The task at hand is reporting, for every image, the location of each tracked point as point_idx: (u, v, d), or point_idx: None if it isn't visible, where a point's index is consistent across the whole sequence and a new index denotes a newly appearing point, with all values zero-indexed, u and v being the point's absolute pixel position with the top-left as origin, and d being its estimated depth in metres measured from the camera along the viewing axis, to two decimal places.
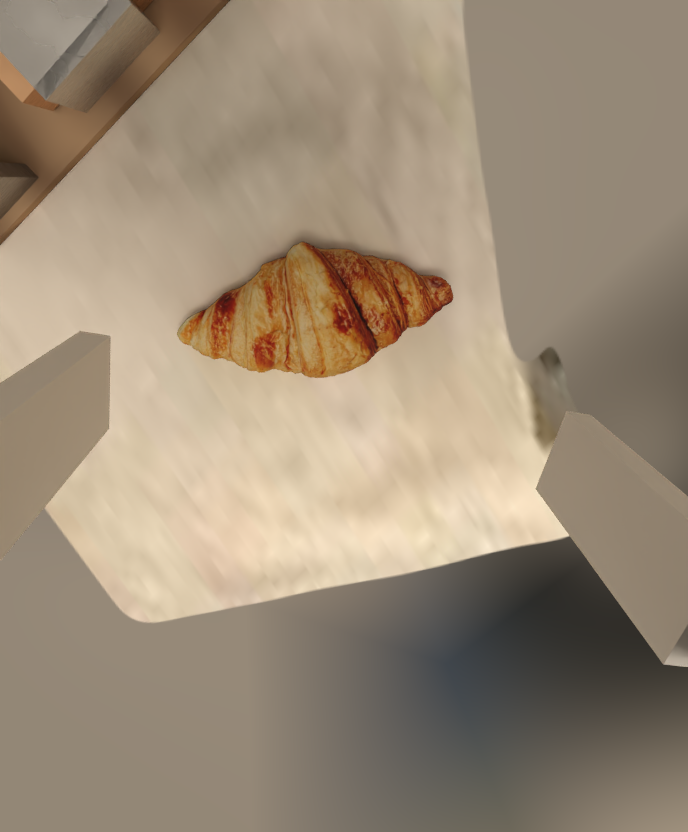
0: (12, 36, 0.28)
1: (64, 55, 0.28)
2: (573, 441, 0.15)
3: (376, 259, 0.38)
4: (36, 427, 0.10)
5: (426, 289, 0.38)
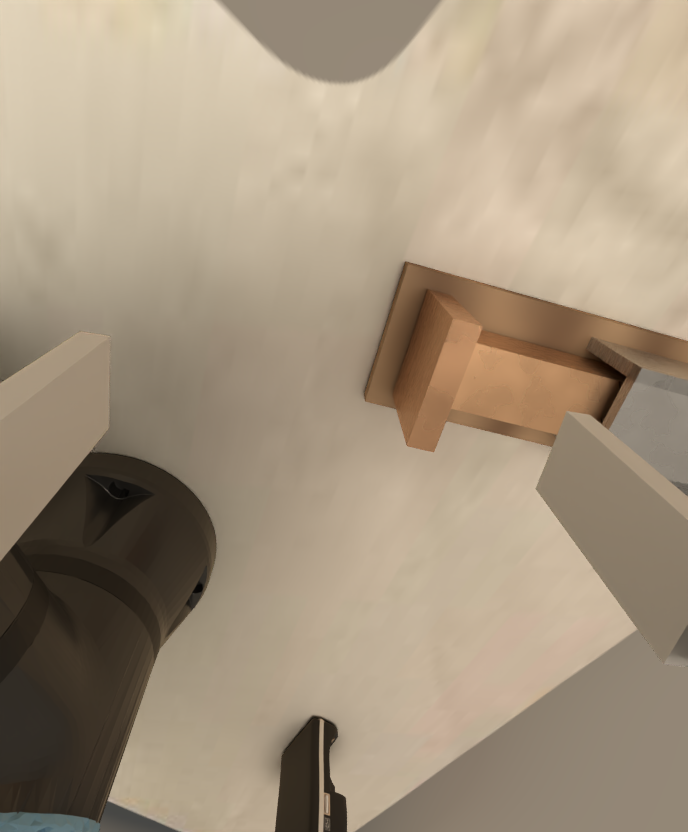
0: None
1: None
2: (573, 441, 0.15)
3: None
4: (36, 427, 0.10)
5: None
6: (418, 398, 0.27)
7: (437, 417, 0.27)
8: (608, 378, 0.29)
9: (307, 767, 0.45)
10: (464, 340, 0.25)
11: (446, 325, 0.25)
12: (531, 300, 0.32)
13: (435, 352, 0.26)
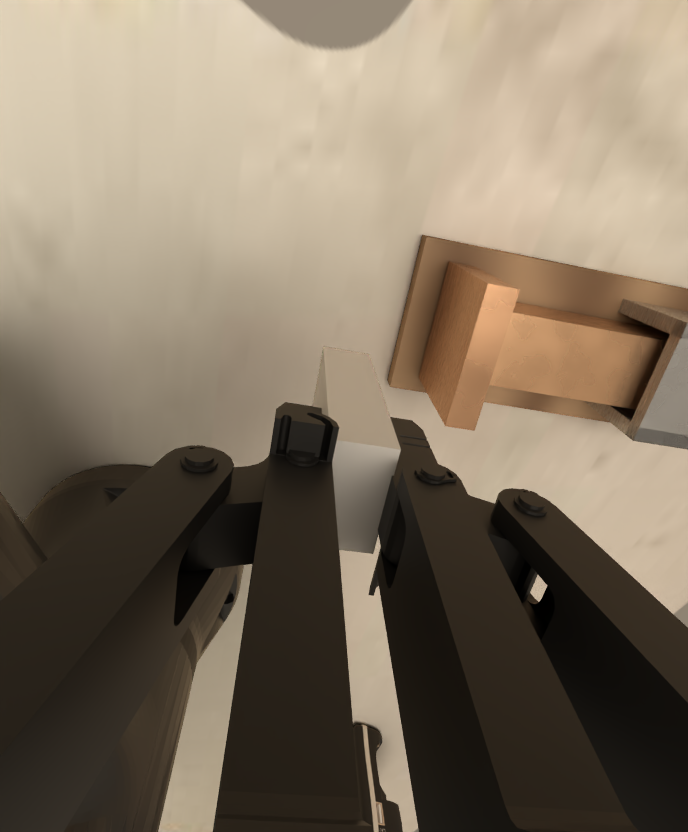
0: None
1: None
2: None
3: None
4: None
5: None
6: (453, 374, 0.26)
7: (476, 392, 0.25)
8: (649, 338, 0.28)
9: None
10: (501, 306, 0.23)
11: (479, 292, 0.24)
12: (558, 264, 0.30)
13: (469, 323, 0.24)
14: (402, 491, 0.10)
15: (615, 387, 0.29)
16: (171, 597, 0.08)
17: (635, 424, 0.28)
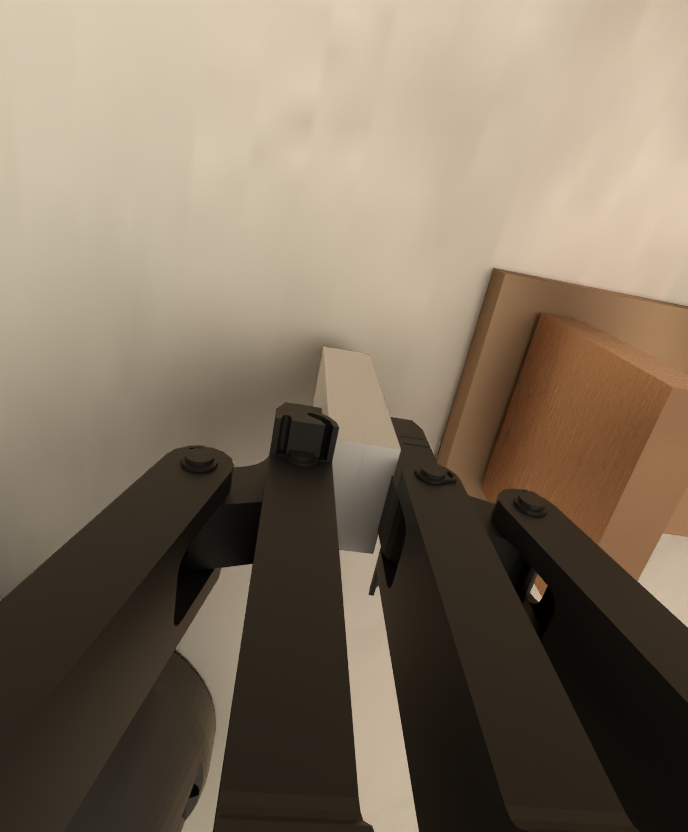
0: None
1: None
2: None
3: None
4: None
5: None
6: None
7: None
8: None
9: None
10: None
11: (643, 397, 0.12)
12: None
13: (614, 450, 0.13)
14: (402, 491, 0.10)
15: None
16: (171, 597, 0.08)
17: None
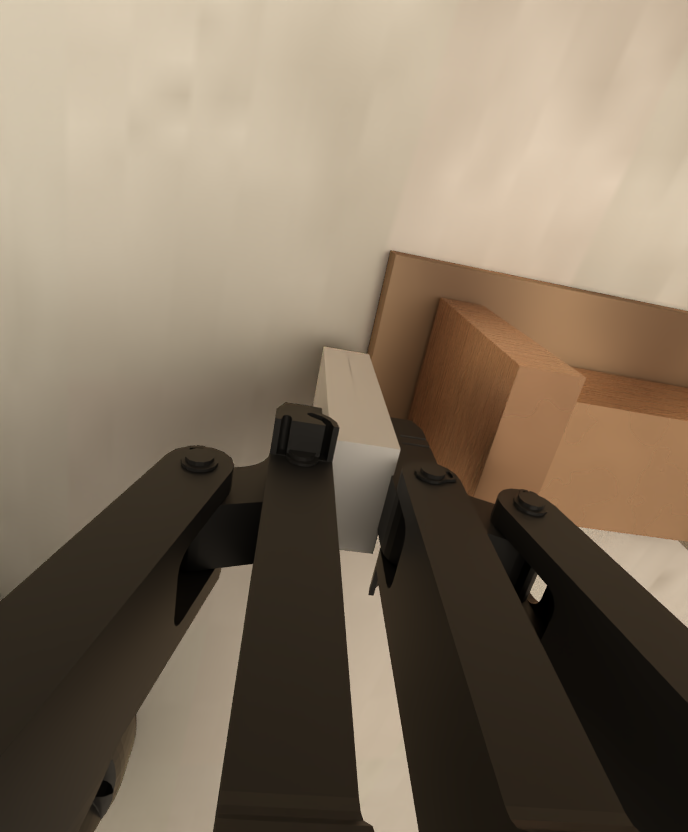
0: None
1: None
2: None
3: None
4: None
5: None
6: None
7: None
8: None
9: None
10: (545, 410, 0.11)
11: (499, 377, 0.12)
12: (617, 302, 0.18)
13: (477, 433, 0.12)
14: (402, 491, 0.10)
15: None
16: (171, 597, 0.08)
17: None
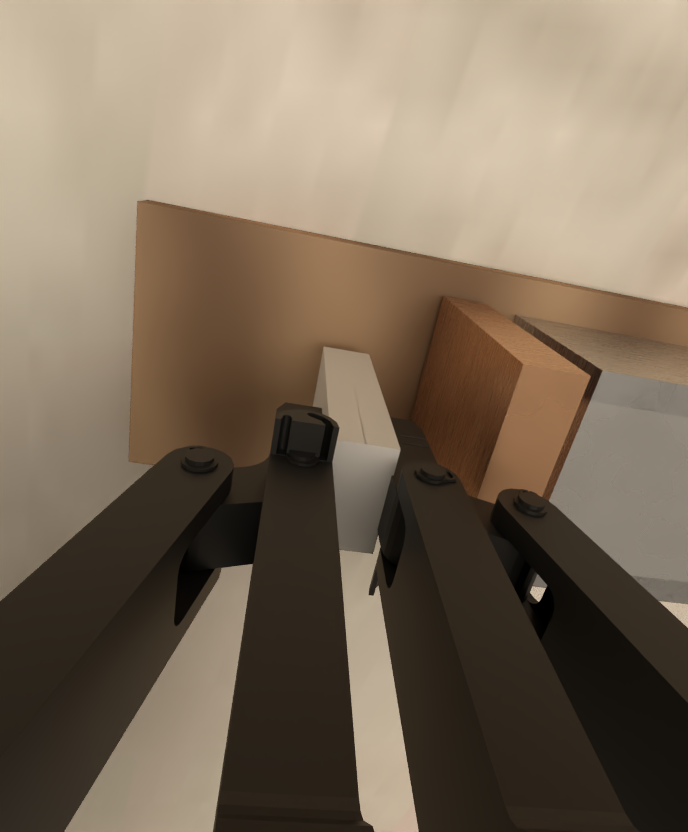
0: None
1: None
2: None
3: None
4: None
5: None
6: None
7: None
8: None
9: None
10: (549, 409, 0.11)
11: (503, 376, 0.12)
12: (392, 254, 0.17)
13: (481, 433, 0.12)
14: (402, 491, 0.10)
15: None
16: (171, 597, 0.08)
17: None
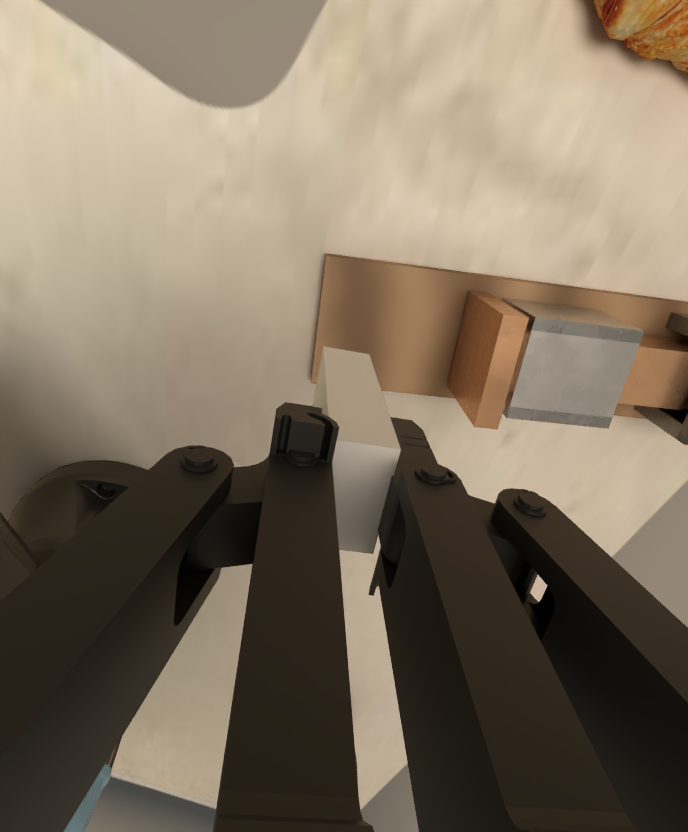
0: (612, 374, 0.33)
1: (602, 337, 0.32)
2: None
3: None
4: None
5: None
6: (478, 385, 0.32)
7: (497, 399, 0.31)
8: None
9: None
10: (514, 331, 0.30)
11: (497, 320, 0.30)
12: (441, 272, 0.35)
13: (489, 344, 0.31)
14: (402, 491, 0.10)
15: None
16: (171, 597, 0.08)
17: (508, 403, 0.34)
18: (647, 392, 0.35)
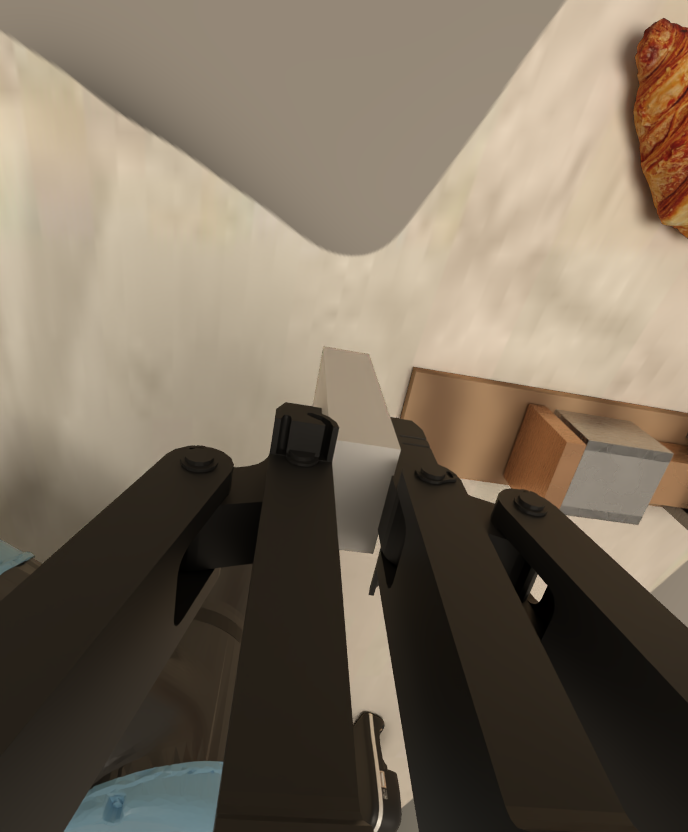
0: (645, 484, 0.40)
1: (640, 457, 0.39)
2: None
3: (648, 138, 0.35)
4: None
5: (664, 60, 0.32)
6: (539, 490, 0.39)
7: (555, 503, 0.39)
8: None
9: (364, 752, 0.56)
10: (574, 454, 0.37)
11: (560, 444, 0.38)
12: (508, 388, 0.43)
13: (551, 460, 0.38)
14: (402, 491, 0.10)
15: None
16: (171, 597, 0.08)
17: None
18: (670, 495, 0.43)
